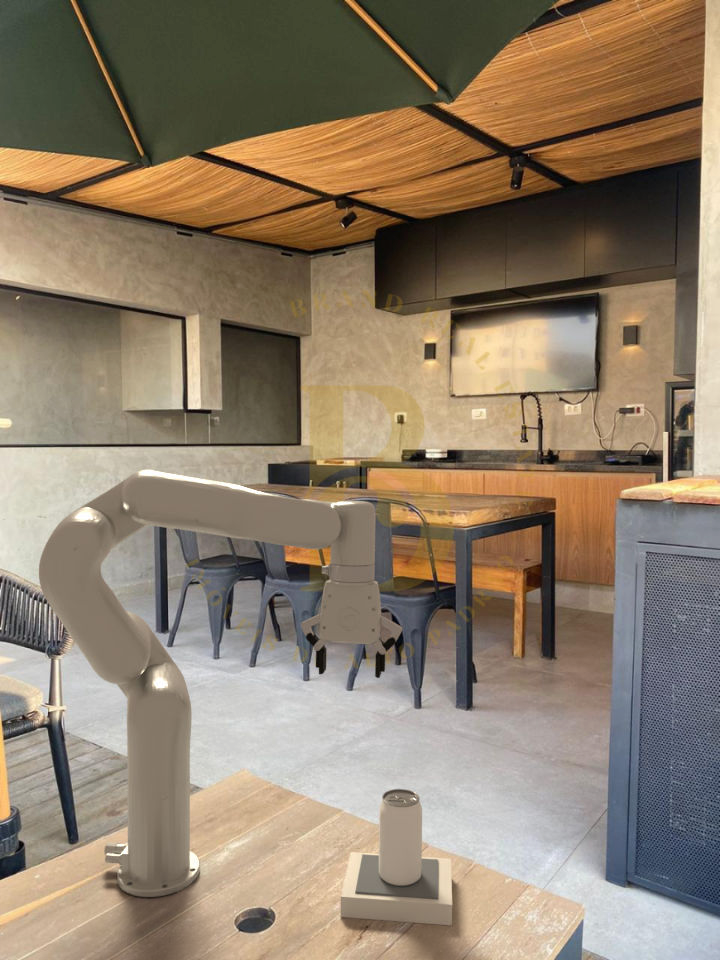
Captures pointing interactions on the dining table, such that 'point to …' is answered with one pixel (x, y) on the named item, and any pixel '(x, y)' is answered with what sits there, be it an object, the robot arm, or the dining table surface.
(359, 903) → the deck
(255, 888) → the dining table surface
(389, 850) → the can
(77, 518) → the robot arm
